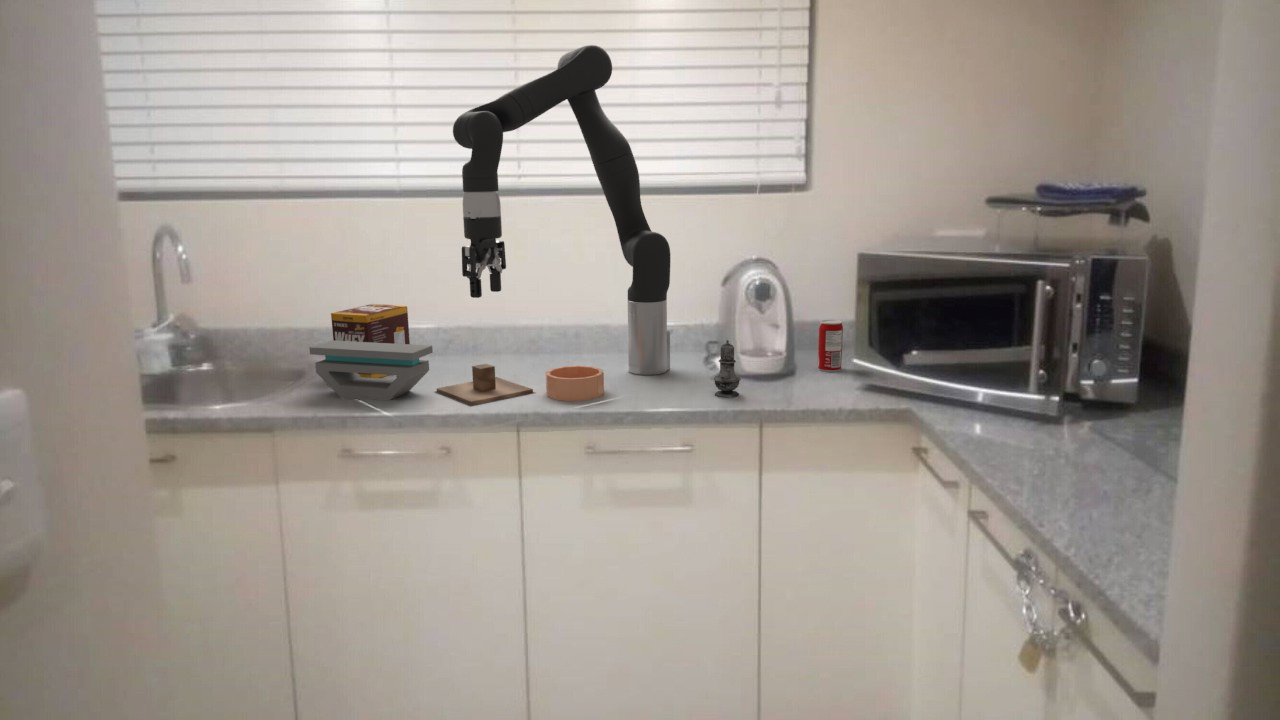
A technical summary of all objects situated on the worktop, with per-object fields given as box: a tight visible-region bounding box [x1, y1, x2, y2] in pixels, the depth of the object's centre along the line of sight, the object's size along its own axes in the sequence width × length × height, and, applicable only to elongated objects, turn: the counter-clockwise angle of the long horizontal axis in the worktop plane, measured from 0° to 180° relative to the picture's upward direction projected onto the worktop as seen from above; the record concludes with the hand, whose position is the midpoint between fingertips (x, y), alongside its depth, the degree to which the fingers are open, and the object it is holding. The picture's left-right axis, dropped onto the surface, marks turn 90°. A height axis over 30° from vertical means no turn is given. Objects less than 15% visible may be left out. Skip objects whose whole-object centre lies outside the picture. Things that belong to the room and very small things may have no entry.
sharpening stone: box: [308, 339, 433, 401], centre depth 184 cm, size 25×8×11 cm, turn 74°
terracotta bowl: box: [545, 365, 605, 402], centre depth 183 cm, size 12×12×5 cm
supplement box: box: [330, 303, 411, 379], centre depth 205 cm, size 10×15×16 cm
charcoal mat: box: [434, 390, 537, 407], centre depth 185 cm, size 16×16×1 cm
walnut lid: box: [436, 363, 534, 406], centre depth 185 cm, size 15×15×6 cm
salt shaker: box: [712, 339, 742, 399], centre depth 182 cm, size 6×6×12 cm
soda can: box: [817, 319, 844, 373], centre depth 203 cm, size 6×6×12 cm
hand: (486, 294), depth 176 cm, fingers open, 8 cm apart
